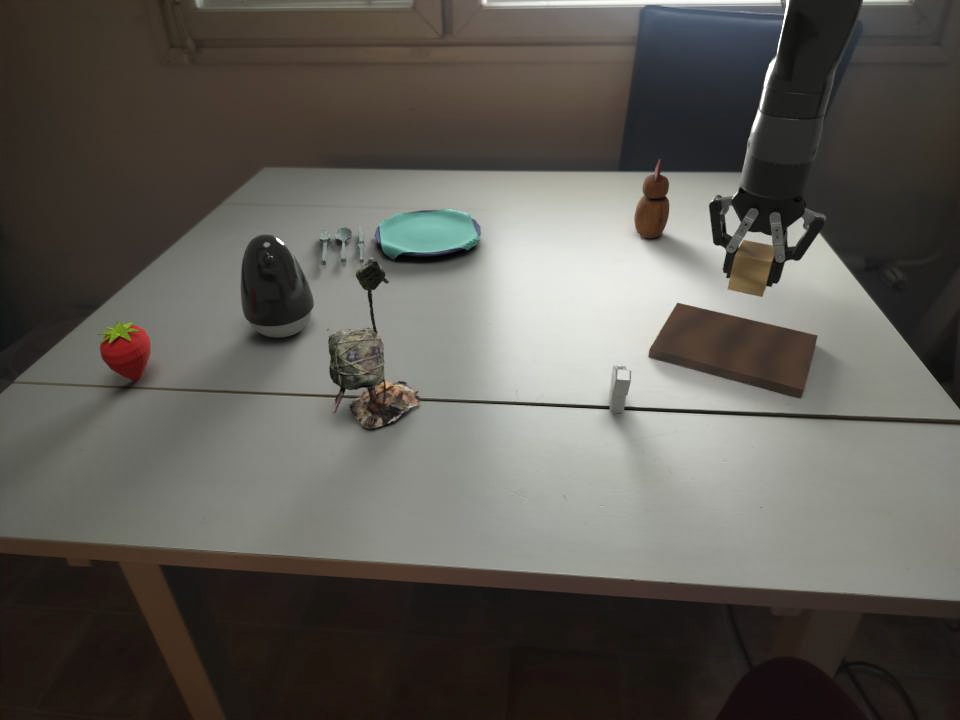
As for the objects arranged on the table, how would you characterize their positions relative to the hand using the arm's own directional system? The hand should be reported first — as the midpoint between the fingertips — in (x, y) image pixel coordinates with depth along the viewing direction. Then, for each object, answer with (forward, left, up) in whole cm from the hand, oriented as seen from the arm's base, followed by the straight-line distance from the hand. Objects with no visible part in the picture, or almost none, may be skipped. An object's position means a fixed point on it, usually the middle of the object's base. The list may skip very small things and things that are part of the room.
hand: (749, 279), depth 87 cm
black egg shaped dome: (+61, +25, -11) cm, 67 cm away
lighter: (+10, +20, -11) cm, 25 cm away
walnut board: (0, 0, -11) cm, 11 cm away
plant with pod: (+37, +34, -12) cm, 52 cm away
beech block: (0, 0, -1) cm, 1 cm away
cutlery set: (+62, -8, -11) cm, 64 cm away
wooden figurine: (+22, -32, -11) cm, 41 cm away
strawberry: (+70, +44, -12) cm, 84 cm away
